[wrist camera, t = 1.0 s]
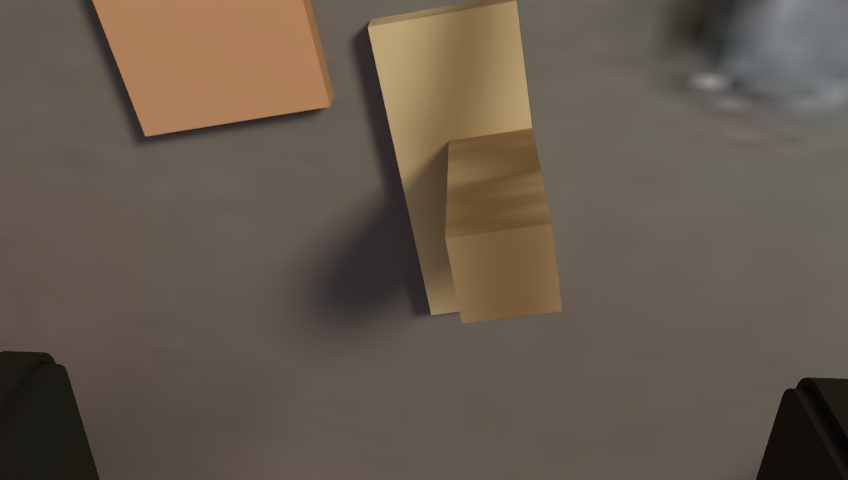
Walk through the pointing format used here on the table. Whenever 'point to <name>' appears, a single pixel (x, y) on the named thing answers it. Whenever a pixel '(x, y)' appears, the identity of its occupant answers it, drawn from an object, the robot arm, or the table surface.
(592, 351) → the table surface
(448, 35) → the tan l-shaped bookend
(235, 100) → the tile
